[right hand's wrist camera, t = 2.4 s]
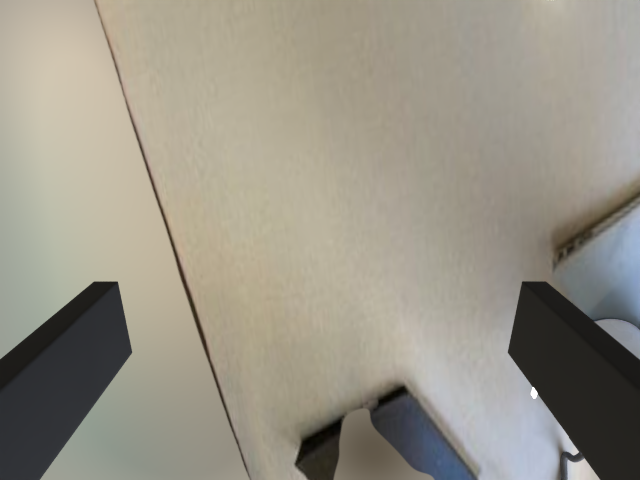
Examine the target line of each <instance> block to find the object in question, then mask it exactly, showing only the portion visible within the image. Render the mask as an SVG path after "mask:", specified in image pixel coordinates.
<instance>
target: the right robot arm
mask: <svg viewBox="0 0 640 480" xmlns="http://www.w3.org/2000/svg"><path fill="white" fill-rule="evenodd" d="M131 353H132V349H131V345H130V339H129V335H128V330H127V325H126V320H125V315H124V310H123V305H122V300H121V295H120V291H119V285H118V282H93V283H92V284H91V285H89V286H88V287H87V288H86V289H85V290H83V291H82V292H81V293H80V294H79V295H77V296H76V297H75V298H74V299H73V300H71V301H70V302H69V303H68V304H67V305H65V306H64V307H63V308H62V309H60V310H59V311H58V312H57V313H56V314H54V315H53V316H52V317H51V318H50V319H48V320H47V321H46V322H45V323H44V324H42V325H41V326H40V327H39V328H38V329H36V330H35V331H34V332H33V333H32V334H30V335H29V336H28V337H27V338H25V339H24V340H23V341H22V342H21V343H19V344H18V345H17V346H16V347H15V348H13V349H12V350H11V351H10V352H9V353H7V354H6V355H5V356H4V357H3V358H1V359H0V480H40V479H41V477H42V476H43V474H44V473H45V472H46V470H47V469H48V468H49V466H50V465H51V463H52V462H53V461H54V459H55V458H56V457H57V455H58V454H59V452H60V451H61V450H62V448H63V447H64V445H65V444H66V443H67V441H68V440H69V439H70V437H71V436H72V435H73V433H74V432H75V430H76V429H77V428H78V426H79V425H80V424H81V422H82V421H83V419H84V418H85V417H86V415H87V414H88V413H89V411H90V410H91V408H92V407H93V406H94V404H95V403H96V401H97V400H98V399H99V397H100V396H101V395H102V393H103V392H104V391H105V389H106V388H107V386H108V385H109V384H110V382H111V381H112V380H113V378H114V377H115V375H116V374H117V373H118V371H119V370H120V369H121V367H122V366H123V364H124V363H125V362H126V360H127V359H128V358H129V356H130V355H131ZM508 353H509V355H510V356H511V358H512V359H513V360H514V362H515V363H516V364H517V366H518V367H519V369H520V370H521V371H522V373H523V374H524V375H525V377H526V378H527V380H528V381H529V382H530V384H531V385H532V386H533V388H534V389H535V391H536V392H537V393H538V395H539V396H540V397H541V399H542V400H543V402H544V403H545V404H546V406H547V407H548V408H549V410H550V411H551V413H552V414H553V415H554V417H555V418H556V419H557V421H558V422H559V424H560V425H561V426H562V428H563V429H564V430H565V432H566V433H567V435H568V436H569V437H570V439H571V440H572V441H573V443H574V444H575V446H576V447H577V448H578V450H579V451H580V452H581V454H582V455H583V457H584V458H585V459H586V461H587V462H588V463H589V465H590V466H591V468H592V469H593V470H594V472H595V473H596V474H597V476H598V477H599V479H600V480H640V359H639V358H637V357H636V356H635V355H634V354H633V353H631V352H630V351H629V350H628V349H627V348H625V347H624V346H623V345H622V344H621V343H619V342H618V341H617V340H616V339H615V338H613V337H612V336H611V335H610V334H608V333H607V332H606V331H605V330H604V329H602V328H601V327H600V326H599V325H598V324H596V323H595V322H594V321H593V320H592V319H590V318H589V317H588V316H587V315H586V314H584V313H583V312H582V311H581V310H580V309H578V308H577V307H576V306H575V305H573V304H572V303H571V302H570V301H569V300H567V299H566V298H565V297H564V296H563V295H561V294H560V293H559V292H558V291H557V290H555V289H554V288H553V287H552V286H551V285H549V284H548V283H547V282H522V285H521V290H520V295H519V300H518V305H517V310H516V315H515V320H514V325H513V330H512V335H511V339H510V344H509V349H508Z"/></svg>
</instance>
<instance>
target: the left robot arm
mask: <svg viewBox="0 0 640 480" xmlns="http://www.w3.org/2000/svg"><path fill="white" fill-rule="evenodd" d="M594 322H595V323H596V324H598V325H599V326H600V327H601V328H602V329H604V330H605V331H606V332H607V333H608V334H610V335H611V336H612V337H613V338H615V339H616V340H617V341H618V342H619V343H621V344H622V345H623V346H624V347H625V348H627V349H628V350H629V351H630V352H631V353H633V354H634V355H635V356H636V357H637V358H639V359H640V330H639V329H638V328H637V327H636V326H634V325H633V324H631V323H629V322H626V321H623V320H618V319H603V320H598V321H594ZM531 395H532V396H533V398H536V395H537V392H536V391H535V389H534V388H533V389H532V393H531ZM569 438H570V437H569ZM570 440H571V439H570ZM571 441H572V440H571ZM572 443H573V441H572ZM573 444H574V443H573ZM574 445H575V444H574ZM575 447H576V446H575ZM576 448H577V447H576ZM577 449H578V448H577ZM578 451H579V450H578ZM568 459H569V460H570V461H572V462H579V461H581V460H583V459H584V457H583V455H582V454H581V452H580V451H579V453H578V454H576V455H574V456H573V455H572V454H570V453H569V452H564V453H563V454H562V456H561V480H567V460H568Z"/></svg>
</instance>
